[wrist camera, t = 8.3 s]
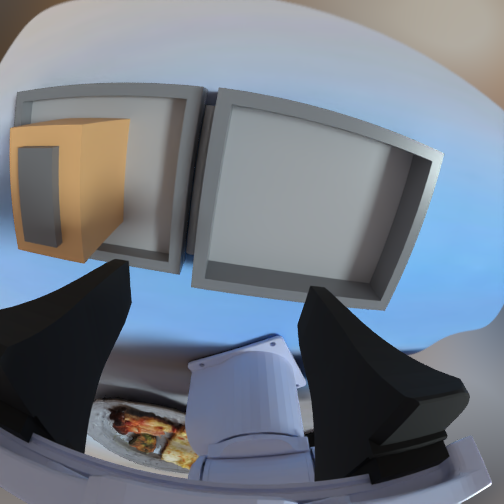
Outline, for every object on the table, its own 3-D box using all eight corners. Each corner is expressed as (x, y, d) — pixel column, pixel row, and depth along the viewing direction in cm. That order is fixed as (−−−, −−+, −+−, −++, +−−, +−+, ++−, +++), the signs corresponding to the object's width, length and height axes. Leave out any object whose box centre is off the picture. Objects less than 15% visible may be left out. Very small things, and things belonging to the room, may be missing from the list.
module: (130, 118, 15) (75, 125, 10) (123, 221, 18) (79, 269, 13) (67, 118, 15) (3, 129, 9) (65, 212, 18) (12, 253, 12)
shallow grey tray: (222, 91, 16) (219, 88, 14) (196, 262, 21) (192, 276, 19) (33, 91, 14) (17, 92, 12) (33, 234, 19) (20, 244, 18)
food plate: (92, 362, 26) (82, 386, 23) (276, 422, 32) (279, 445, 29) (85, 431, 36) (80, 447, 33) (205, 469, 42) (204, 485, 39)
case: (418, 145, 17) (444, 153, 14) (370, 287, 23) (384, 310, 20) (223, 92, 16) (218, 87, 13) (197, 262, 21) (191, 287, 18)
